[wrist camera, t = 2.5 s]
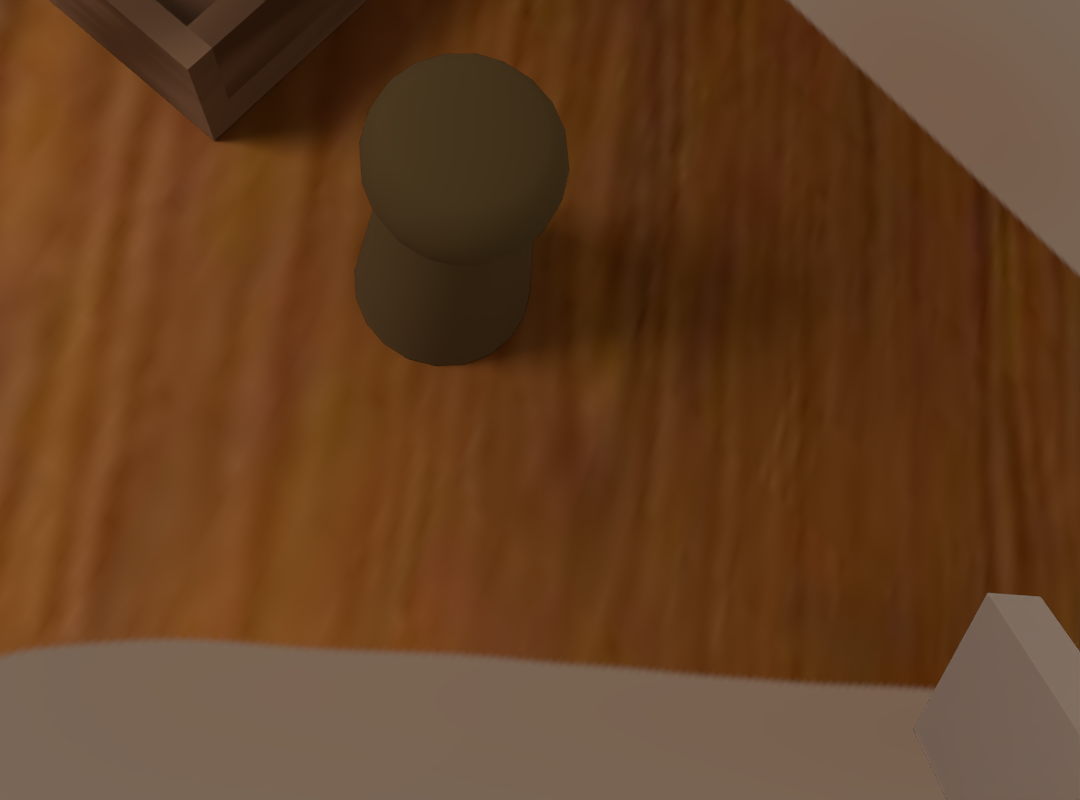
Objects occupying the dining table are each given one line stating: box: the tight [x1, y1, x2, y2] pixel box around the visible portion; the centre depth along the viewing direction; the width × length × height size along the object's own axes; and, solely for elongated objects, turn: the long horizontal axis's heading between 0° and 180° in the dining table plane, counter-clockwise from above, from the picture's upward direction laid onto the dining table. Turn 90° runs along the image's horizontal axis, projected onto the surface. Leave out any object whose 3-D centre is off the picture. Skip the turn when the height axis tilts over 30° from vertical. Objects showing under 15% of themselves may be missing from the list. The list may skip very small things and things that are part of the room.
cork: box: [355, 54, 569, 366], centre depth 27 cm, size 6×6×11 cm
